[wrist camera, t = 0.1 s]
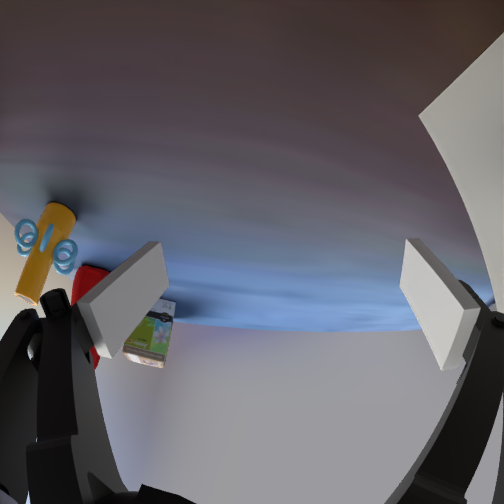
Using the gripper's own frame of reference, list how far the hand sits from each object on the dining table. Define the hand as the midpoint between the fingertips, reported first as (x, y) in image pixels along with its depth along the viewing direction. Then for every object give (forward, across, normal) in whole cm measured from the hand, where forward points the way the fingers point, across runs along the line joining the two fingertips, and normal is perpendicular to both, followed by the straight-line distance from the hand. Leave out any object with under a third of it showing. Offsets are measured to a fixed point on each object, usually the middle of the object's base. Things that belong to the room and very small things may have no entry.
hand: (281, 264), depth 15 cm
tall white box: (+11, +21, +12) cm, 26 cm away
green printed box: (+41, -35, -31) cm, 63 cm away
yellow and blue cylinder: (+19, -35, 0) cm, 40 cm away
